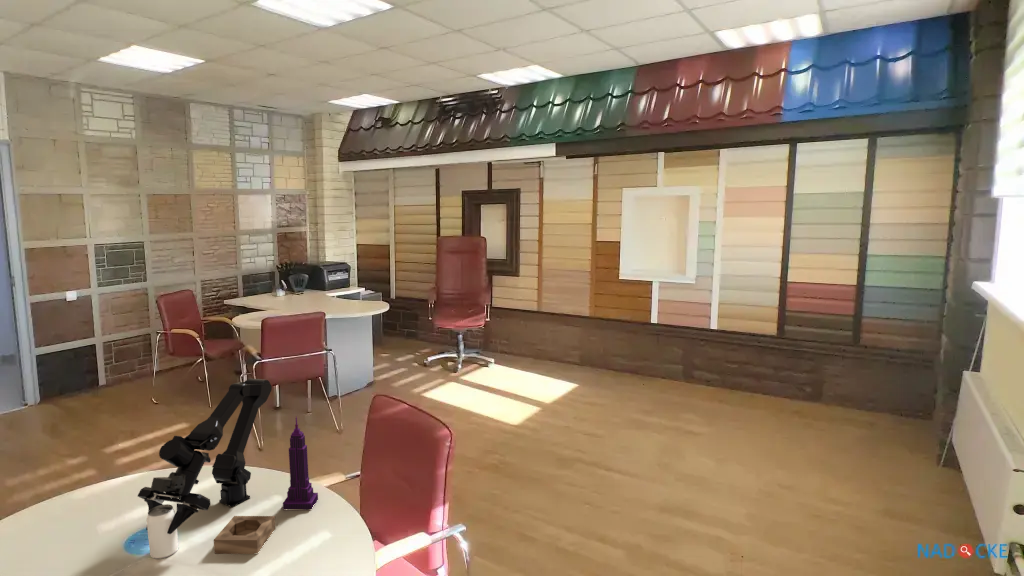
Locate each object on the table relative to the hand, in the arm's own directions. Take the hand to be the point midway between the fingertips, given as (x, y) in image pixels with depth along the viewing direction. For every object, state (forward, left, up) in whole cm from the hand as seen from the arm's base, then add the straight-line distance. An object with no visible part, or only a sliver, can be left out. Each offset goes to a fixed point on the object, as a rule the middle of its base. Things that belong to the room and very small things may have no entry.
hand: (158, 532), depth 148 cm
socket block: (-15, +14, -7) cm, 22 cm away
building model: (-35, +13, -7) cm, 38 cm away
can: (-1, 0, -7) cm, 7 cm away
